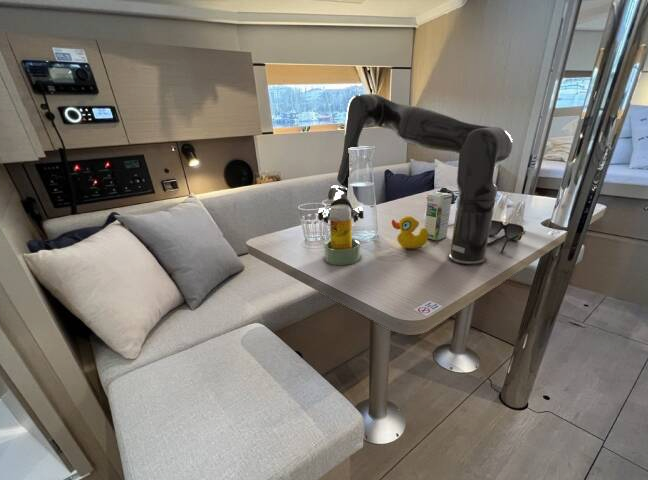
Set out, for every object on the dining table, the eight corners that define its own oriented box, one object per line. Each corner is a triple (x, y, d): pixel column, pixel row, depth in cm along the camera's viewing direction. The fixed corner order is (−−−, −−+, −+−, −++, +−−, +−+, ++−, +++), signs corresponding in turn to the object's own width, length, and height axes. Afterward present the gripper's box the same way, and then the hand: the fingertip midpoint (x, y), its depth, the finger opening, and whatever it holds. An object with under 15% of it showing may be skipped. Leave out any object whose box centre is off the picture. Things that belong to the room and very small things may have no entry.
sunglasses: (458, 243, 102) (460, 228, 100) (482, 232, 111) (485, 218, 108) (501, 253, 93) (504, 237, 90) (524, 241, 101) (528, 225, 99)
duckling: (389, 249, 100) (390, 218, 95) (391, 244, 105) (392, 214, 100) (426, 251, 97) (429, 219, 92) (427, 245, 102) (430, 214, 97)
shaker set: (485, 224, 119) (491, 193, 113) (492, 222, 121) (498, 192, 115) (515, 231, 110) (522, 199, 104) (522, 229, 111) (530, 197, 106)
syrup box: (422, 237, 109) (426, 193, 102) (433, 233, 112) (438, 191, 105) (436, 241, 105) (441, 196, 98) (447, 237, 108) (453, 193, 101)
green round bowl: (340, 250, 102) (339, 236, 100) (366, 256, 96) (366, 242, 94) (318, 260, 96) (317, 245, 93) (344, 268, 89) (343, 253, 87)
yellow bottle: (328, 258, 95) (324, 207, 88) (339, 251, 99) (337, 203, 92) (345, 261, 92) (343, 210, 85) (355, 255, 96) (354, 205, 89)
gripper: (319, 196, 108) (316, 207, 93) (361, 194, 107) (364, 205, 93) (321, 218, 111) (318, 232, 97) (361, 216, 111) (364, 230, 97)
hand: (340, 219), depth 95 cm, fingers open, 8 cm apart
